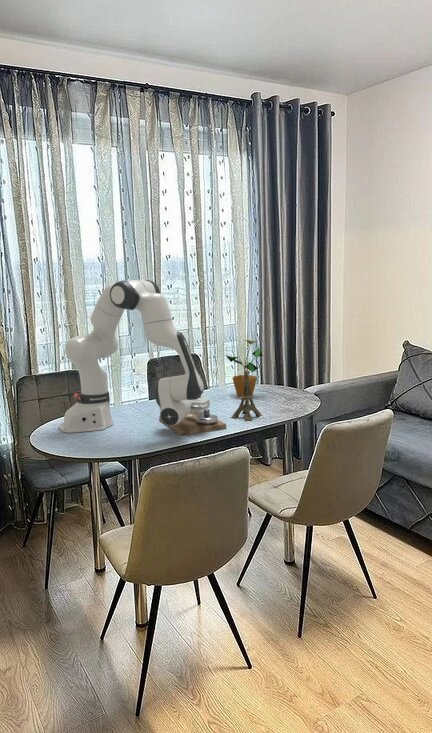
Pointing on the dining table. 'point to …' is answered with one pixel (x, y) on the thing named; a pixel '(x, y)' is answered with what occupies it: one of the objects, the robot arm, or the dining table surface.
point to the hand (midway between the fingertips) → (189, 399)
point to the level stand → (194, 426)
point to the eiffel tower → (246, 401)
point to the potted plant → (240, 379)
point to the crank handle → (204, 417)
